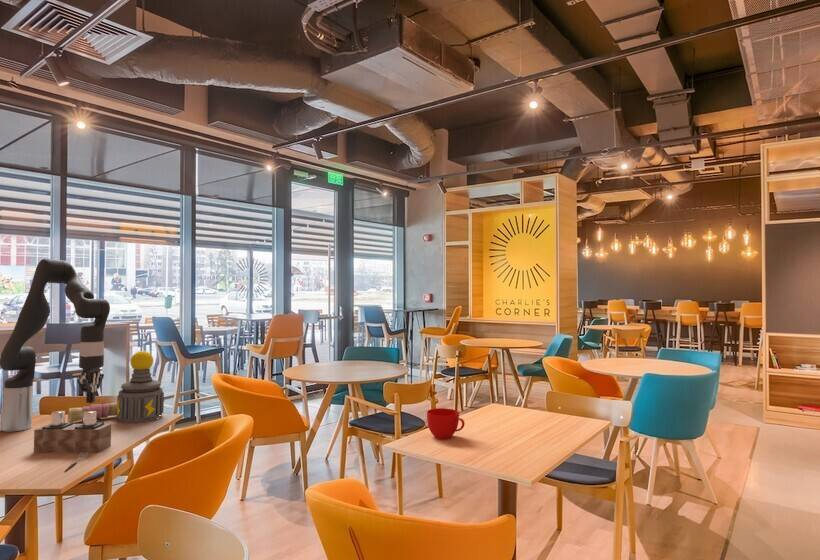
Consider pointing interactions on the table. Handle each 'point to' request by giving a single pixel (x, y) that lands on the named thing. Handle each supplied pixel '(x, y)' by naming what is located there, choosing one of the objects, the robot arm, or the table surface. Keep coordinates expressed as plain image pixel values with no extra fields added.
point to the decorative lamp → (140, 393)
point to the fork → (76, 462)
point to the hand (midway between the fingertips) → (90, 402)
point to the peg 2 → (89, 418)
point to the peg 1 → (58, 419)
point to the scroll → (101, 410)
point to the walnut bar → (72, 438)
